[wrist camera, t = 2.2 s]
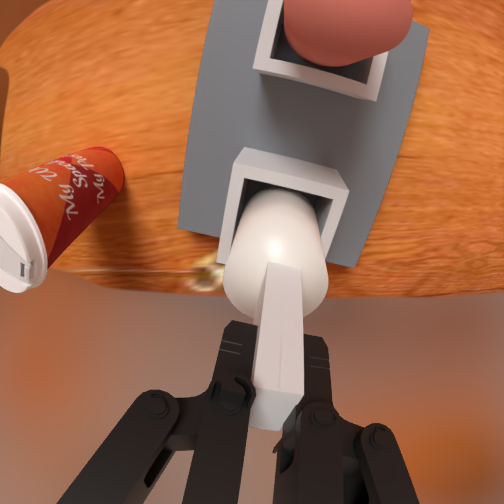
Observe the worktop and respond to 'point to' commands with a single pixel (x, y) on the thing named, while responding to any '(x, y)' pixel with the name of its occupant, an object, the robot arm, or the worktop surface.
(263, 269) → the plug
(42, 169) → the coffee cup
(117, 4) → the worktop surface
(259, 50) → the board
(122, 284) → the worktop surface
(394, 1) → the red plug
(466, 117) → the worktop surface
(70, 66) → the worktop surface
